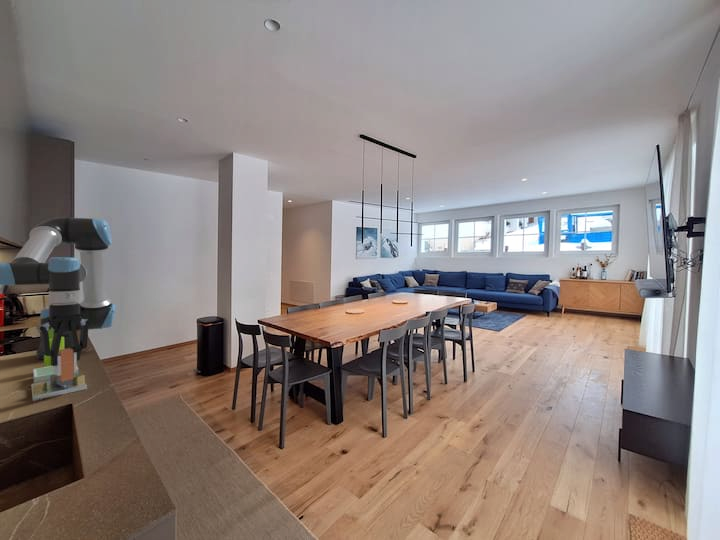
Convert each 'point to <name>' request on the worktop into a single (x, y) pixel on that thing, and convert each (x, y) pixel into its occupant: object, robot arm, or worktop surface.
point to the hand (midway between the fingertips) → (65, 372)
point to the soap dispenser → (47, 358)
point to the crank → (64, 369)
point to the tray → (46, 373)
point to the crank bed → (57, 388)
